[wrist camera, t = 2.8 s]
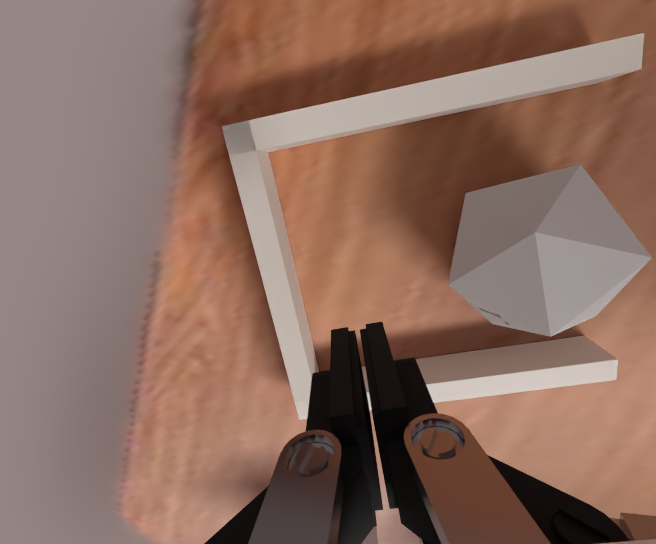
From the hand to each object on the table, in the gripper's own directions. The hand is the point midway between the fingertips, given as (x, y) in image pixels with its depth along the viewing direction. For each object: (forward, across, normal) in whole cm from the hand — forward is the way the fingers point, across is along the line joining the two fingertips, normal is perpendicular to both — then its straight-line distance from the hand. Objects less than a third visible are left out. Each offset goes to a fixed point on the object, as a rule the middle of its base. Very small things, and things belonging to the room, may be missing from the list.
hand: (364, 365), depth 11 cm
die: (+12, -10, 0) cm, 16 cm away
